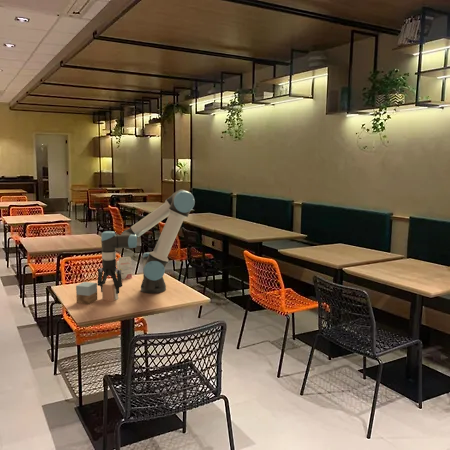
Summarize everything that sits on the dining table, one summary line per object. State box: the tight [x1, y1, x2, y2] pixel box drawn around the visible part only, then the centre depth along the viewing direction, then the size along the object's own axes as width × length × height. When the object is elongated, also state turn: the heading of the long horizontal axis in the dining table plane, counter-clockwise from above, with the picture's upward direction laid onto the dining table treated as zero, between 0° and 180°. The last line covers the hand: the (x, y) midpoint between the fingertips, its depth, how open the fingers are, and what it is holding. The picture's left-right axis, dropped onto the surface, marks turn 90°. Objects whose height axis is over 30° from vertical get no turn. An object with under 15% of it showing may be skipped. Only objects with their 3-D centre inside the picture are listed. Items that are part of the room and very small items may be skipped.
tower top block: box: [75, 281, 98, 296], centre depth 248 cm, size 8×8×5 cm
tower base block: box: [76, 291, 98, 305], centre depth 249 cm, size 8×8×5 cm
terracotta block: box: [102, 281, 116, 302], centre depth 254 cm, size 6×6×9 cm
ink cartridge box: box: [116, 256, 133, 280], centre depth 298 cm, size 9×5×15 cm, turn 118°
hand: (110, 298), depth 254 cm, fingers open, 7 cm apart
